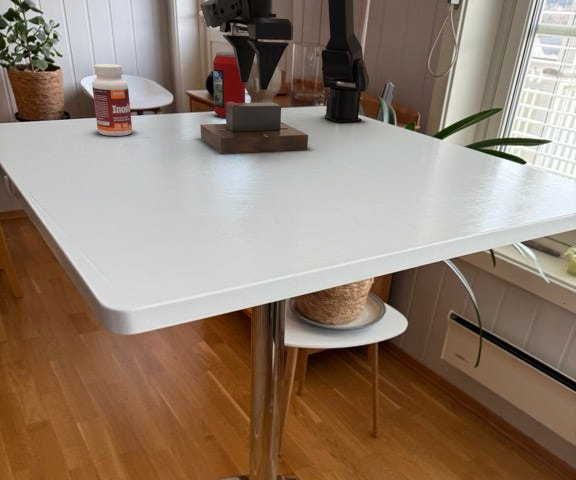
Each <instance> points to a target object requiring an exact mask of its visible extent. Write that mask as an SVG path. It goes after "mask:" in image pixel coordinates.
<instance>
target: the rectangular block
mask: <svg viewBox="0 0 576 480" xmlns="http://www.w3.org/2000/svg"><path fill="white" fill-rule="evenodd" d="M281 122H282V105H281V104H279V103H276V102H273V101H272V102H269V101H268V102H245V103H234V102H227V103H226V118H225V124H226V128H227V129H229V130H231V131H232V132H245V131H272V130H280V129H281Z"/></svg>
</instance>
